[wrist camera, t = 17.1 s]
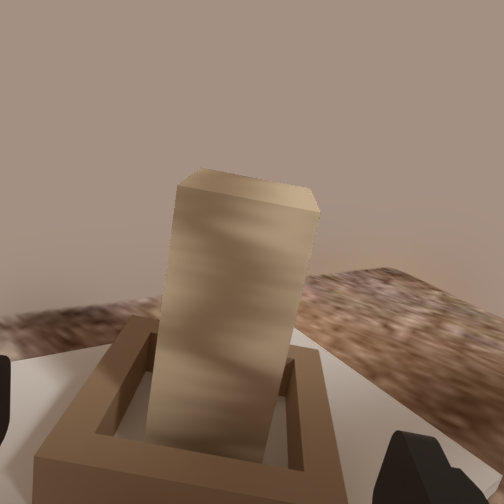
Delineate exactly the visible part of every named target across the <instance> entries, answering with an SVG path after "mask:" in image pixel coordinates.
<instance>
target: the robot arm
mask: <svg viewBox="0 0 504 504" xmlns="http://www.w3.org/2000/svg"><path fill="white" fill-rule="evenodd" d="M10 393H11V362H10V359H9V358H8V357H7V356H5V355H0V446H1V444H2V442H3V440H4V438H5V435H6V433H7V430H8V426H9V422H10ZM372 504H489V503H488V501H487V499H486V497H485V496H484V494H483V492H482V491H481V490H480V489H479V488H478V487H477V486H476V485H475V483H474V482H473V481H472V480H471V479H470V478H469V477H468V476H467V475H466V474H465V473H464V472H463V471H462V470H461V469H460V468H454V467H451V465H450V463H449V461H448V459H447V457H446V455H445V453H444V451H443V449H442V447H441V445H440V443H439V442H438V440H437V439H436V438H435V437H432V436H427V435H422V434H416V433H411V432H405V431H400V430H396V431H395V432H394V433H393V435H392V437H391V439H390V442H389V445H388V448H387V451H386V454H385V457H384V460H383V463H382V466H381V468H380V471H379V474H378V477H377V480H376V483H375V486H374V490H373V496H372Z"/></svg>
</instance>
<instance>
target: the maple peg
mask: <svg viewBox="0 0 504 504" xmlns="http://www.w3.org/2000/svg"><path fill="white" fill-rule="evenodd" d="M320 215H321V211H320V209H319V207H318V205H317V203H316V200H315V198H314V196H313V194H312V192H311V190H310V189H309V188H304V187H299V186H293V185H288V184H283V183H278V182H273V181H267V180H262V179H257V178H252V177H246V176H241V175H236V174H231V173H225V172H220V171H215V170H210V169H205V168H200V169H199V170H197V171H196V172H195V173H193V174H192V175H191V176H189V177H188V178H186V179H185V180H184V181H182V182H181V183H180V184H178V186H177V193H176V200H175V208H174V216H173V224H172V231H171V239H170V246H169V254H168V261H167V269H166V277H165V284H164V292H163V299H162V307H161V315H160V322H159V330H158V337H157V345H156V353H155V360H154V368H153V376H152V383H151V391H150V398H149V406H148V414H147V421H146V429H145V437H144V442H145V443H150V444H155V445H161V446H166V447H172V448H177V449H183V450H188V451H194V452H199V453H205V454H210V455H216V456H221V457H227V458H232V459H237V460H243V461H248V462H254V463H259V464H262V460H263V456H264V452H265V448H266V443H267V439H268V435H269V431H270V426H271V422H272V418H273V414H274V410H275V405H276V401H277V397H278V393H279V388H280V384H281V380H282V376H283V371H284V367H285V363H286V359H287V354H288V350H289V346H290V342H291V338H292V333H293V329H294V325H295V321H296V316H297V312H298V308H299V304H300V299H301V295H302V291H303V287H304V283H305V278H306V274H307V270H308V266H309V261H310V257H311V253H312V249H313V244H314V240H315V236H316V232H317V227H318V223H319V219H320Z"/></svg>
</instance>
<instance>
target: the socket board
mask: <svg viewBox="0 0 504 504" xmlns="http://www.w3.org/2000/svg"><path fill="white" fill-rule="evenodd" d="M159 322H160V320H156V319H151V318H145V317H140V316H135V315H132V316H131V317H130V319H129V320H128V321H127V323H126V324H125V326H124V327H123V329H122V330H121V331H120V333H119V334H118V336H117V337H116V339H115V340H114V341H113V343H112V344H106V345H101V346H95V347H90V348H85V349H79V350H74V351H68V352H63V353H57V354H52V355H47V356H41V357H36V358H30V359H25V360H19V361H14V362H11V393H10V422H9V426H8V430H7V433H6V435H5V438H4V440H3V442H2V444H1V446H0V504H372V496H373V490H374V486H375V483H376V480H377V477H378V474H379V471H380V468H381V466H382V463H383V460H384V457H385V454H386V451H387V448H388V445H389V442H390V439H391V437H392V435H393V433H394V432H395V431H396V430H400V431H405V432H411V433H416V434H422V435H427V436H432V437H435V438H436V439H437V440H438V442H439V443H440V445H441V447H442V449H443V451H444V453H445V455H446V457H447V459H448V461H449V463H450V465H451V467H454V468H460V469H461V470H462V471H463V472H464V473H465V474H466V475H467V476H468V477H469V478H470V479H471V480H472V481H473V482H474V483H475V485H476V486H477V487H478V488H479V489H480V490H481V491H482V492H483V494H484V496H485V497H486V499H488V498H489V497H490V496H491V495H492V494H493V493H494V492H496V490H497V488H498V485H499V483H500V481H501V479H502V477H503V476H502V475H501V474H500V473H498V472H497V471H495V470H494V469H493V468H491V467H490V466H488V465H487V464H485V463H484V462H483V461H481V460H480V459H478V458H477V457H476V456H474V455H473V454H471V453H470V452H469V451H467V450H466V449H464V448H463V447H462V446H460V445H459V444H457V443H456V442H455V441H453V440H452V439H450V438H449V437H447V436H446V435H445V434H443V433H442V432H440V431H439V430H438V429H436V428H435V427H433V426H432V425H431V424H429V423H428V422H426V421H425V420H424V419H422V418H421V417H419V416H418V415H416V414H415V413H414V412H412V411H411V410H409V409H408V408H407V407H405V406H404V405H402V404H401V403H400V402H398V401H397V400H395V399H394V398H393V397H391V396H390V395H388V394H387V393H386V392H384V391H383V390H381V389H380V388H378V387H377V386H376V385H374V384H373V383H371V382H370V381H369V380H367V379H366V378H364V377H363V376H362V375H360V374H359V373H357V372H356V371H355V370H353V369H352V368H350V367H349V366H348V365H346V364H345V363H343V362H342V361H340V360H339V359H338V358H336V357H335V356H333V355H332V354H331V353H329V352H328V351H326V350H325V349H324V348H322V347H321V346H319V345H318V344H317V343H315V342H314V341H312V340H311V339H309V338H308V337H307V336H305V335H304V334H302V333H301V332H300V331H298V330H297V329H295V328H294V329H293V333H292V338H291V342H290V346H289V350H288V354H287V359H286V363H285V367H284V371H283V376H282V380H281V384H280V388H279V393H278V397H277V401H276V405H275V410H274V414H273V418H272V422H271V426H270V431H269V435H268V439H267V443H266V448H265V452H264V456H263V460H262V464H259V463H254V462H248V461H243V460H237V459H232V458H227V457H221V456H216V455H210V454H205V453H199V452H194V451H188V450H183V449H177V448H172V447H166V446H161V445H155V444H150V443H145V442H144V437H145V429H146V421H147V414H148V406H149V398H150V391H151V383H152V376H153V368H154V360H155V353H156V345H157V337H158V330H159Z"/></svg>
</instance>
